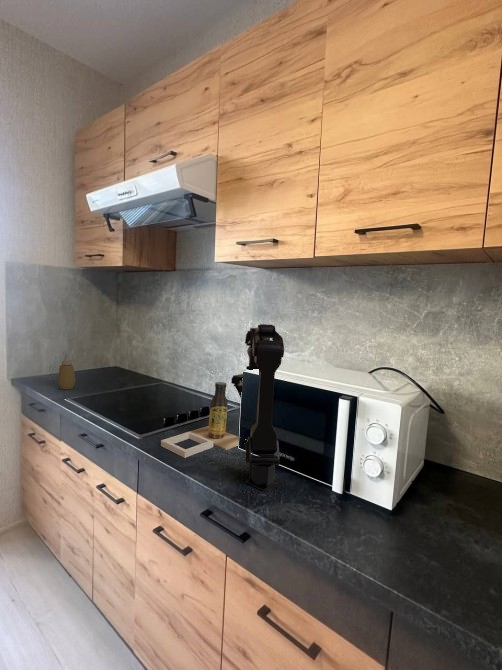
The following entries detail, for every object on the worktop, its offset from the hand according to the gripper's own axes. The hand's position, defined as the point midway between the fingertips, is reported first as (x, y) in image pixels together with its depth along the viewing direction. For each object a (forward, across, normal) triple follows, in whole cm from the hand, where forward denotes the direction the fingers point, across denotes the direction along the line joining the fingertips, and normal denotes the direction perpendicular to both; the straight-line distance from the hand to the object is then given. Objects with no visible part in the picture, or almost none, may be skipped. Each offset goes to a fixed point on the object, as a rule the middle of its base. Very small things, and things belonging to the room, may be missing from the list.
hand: (254, 407), depth 126 cm
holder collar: (+13, +13, +19) cm, 26 cm away
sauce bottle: (+13, +12, +6) cm, 18 cm away
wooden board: (+13, +12, +6) cm, 19 cm away
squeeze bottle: (+14, +112, +17) cm, 114 cm away
